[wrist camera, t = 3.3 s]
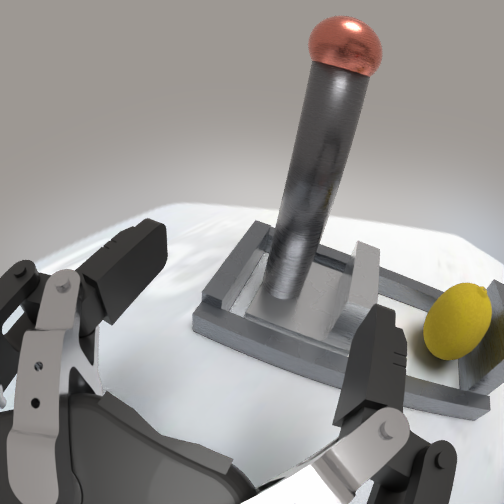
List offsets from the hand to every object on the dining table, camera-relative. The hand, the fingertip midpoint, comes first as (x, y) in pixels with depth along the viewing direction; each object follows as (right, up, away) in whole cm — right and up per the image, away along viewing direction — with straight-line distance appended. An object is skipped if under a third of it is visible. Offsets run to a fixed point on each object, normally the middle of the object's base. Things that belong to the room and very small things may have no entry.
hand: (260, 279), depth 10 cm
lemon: (+16, -8, +11) cm, 21 cm away
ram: (+4, -4, +13) cm, 14 cm away
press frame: (+11, -6, +12) cm, 17 cm away
